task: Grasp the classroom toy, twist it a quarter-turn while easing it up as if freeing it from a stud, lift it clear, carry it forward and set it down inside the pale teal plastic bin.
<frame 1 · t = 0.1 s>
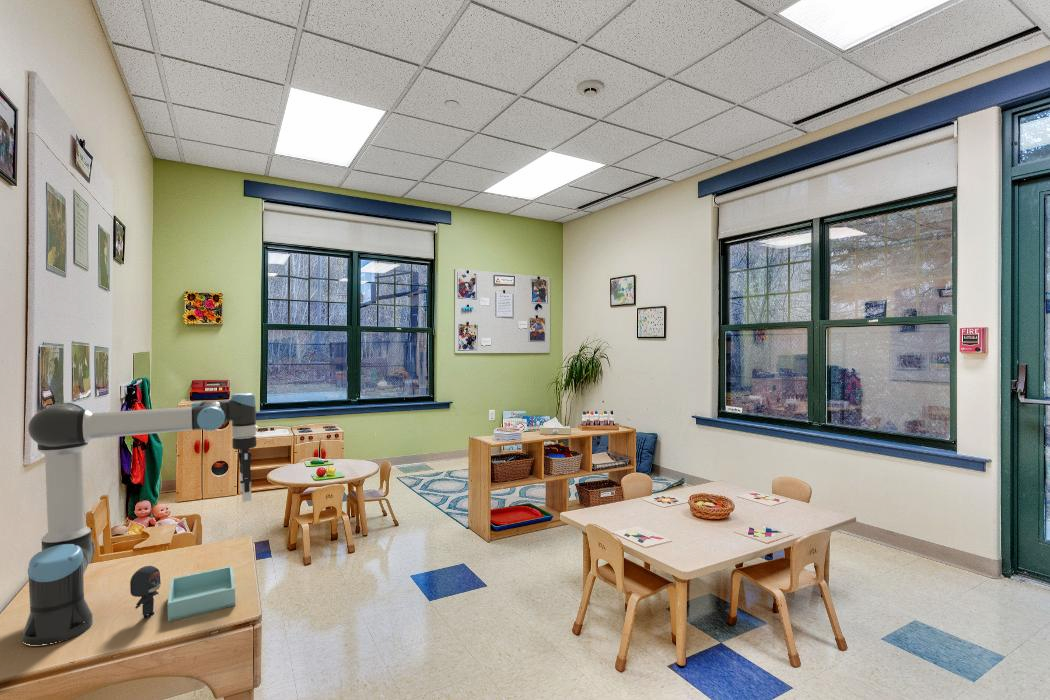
hand: (245, 495, 187), 28 cm above the table, fingers open, 13 cm apart
bin: (202, 600, 169), on the table
toy: (147, 616, 160), on the table
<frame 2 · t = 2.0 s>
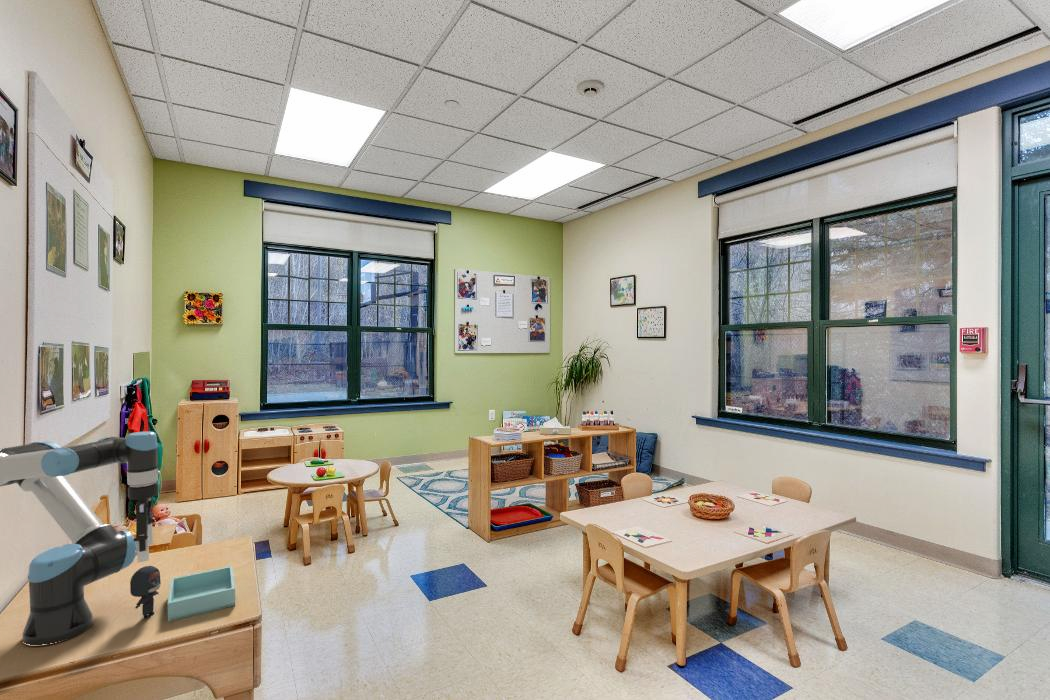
hand: (145, 552, 159), 19 cm above the table, fingers open, 13 cm apart
nothing on the table moved.
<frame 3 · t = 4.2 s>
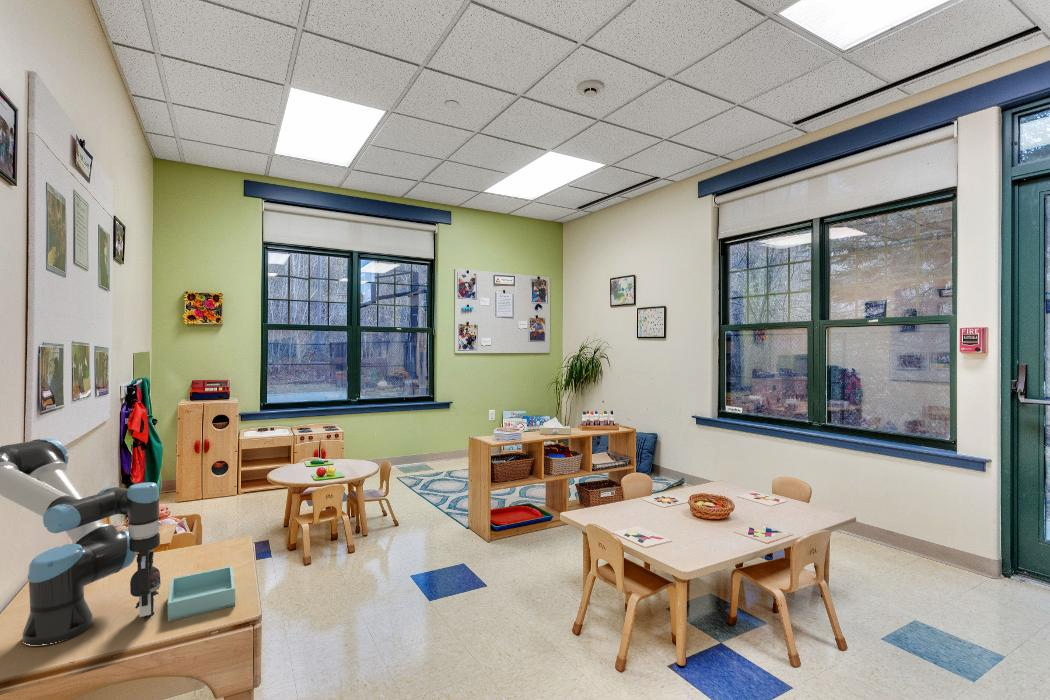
hand: (146, 608, 160), 2 cm above the table, fingers closed on toy, 7 cm apart
toy: (147, 616, 160), on the table, touching gripper
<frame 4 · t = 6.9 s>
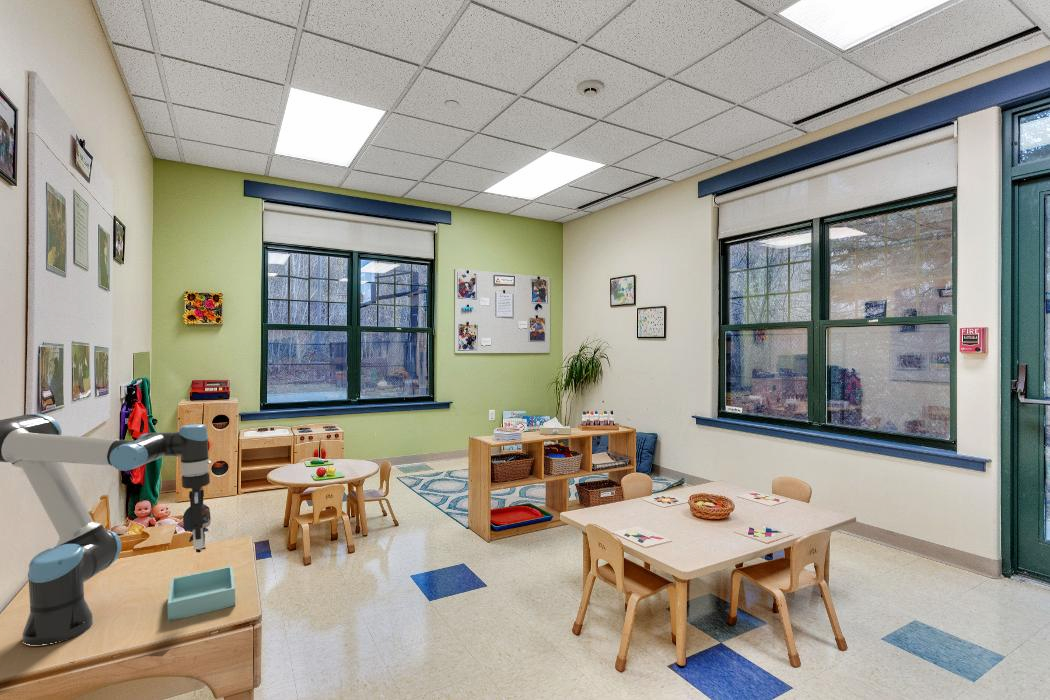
hand: (198, 544, 168), 19 cm above the table, fingers closed on toy, 7 cm apart
toy: (199, 551, 168), point 16 cm above the table, touching gripper
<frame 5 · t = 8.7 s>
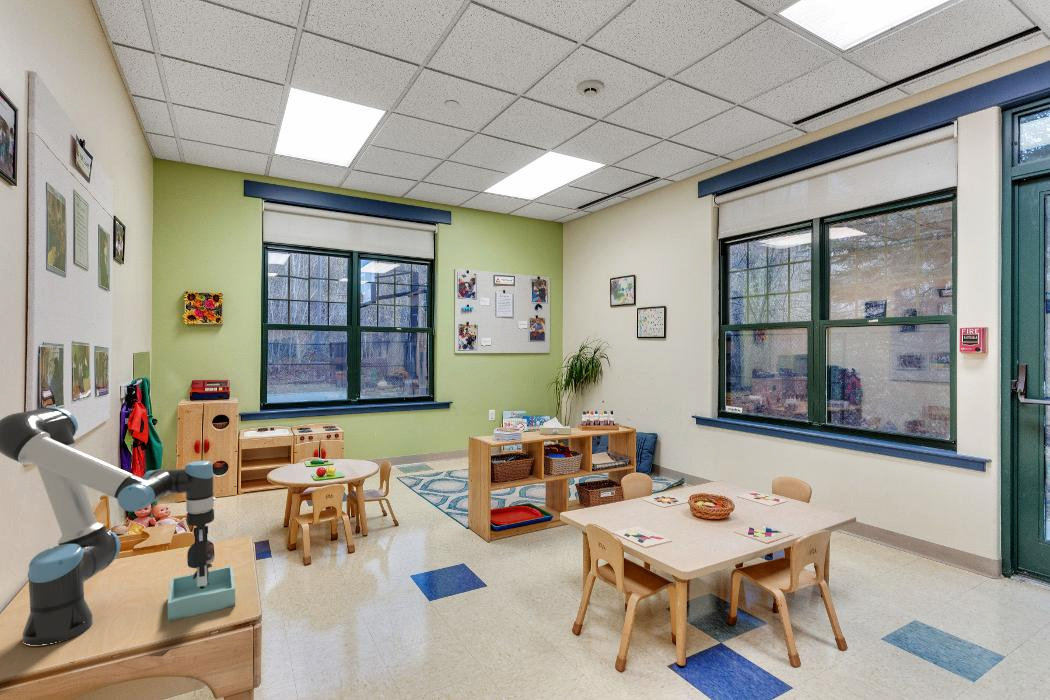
hand: (202, 580, 169), 7 cm above the table, fingers closed on toy, 7 cm apart
toy: (202, 587, 169), point 4 cm above the table, touching gripper
when the fingers open (3 cm above the table, at t = 9.9 s): toy stays where it is, resting on bin.
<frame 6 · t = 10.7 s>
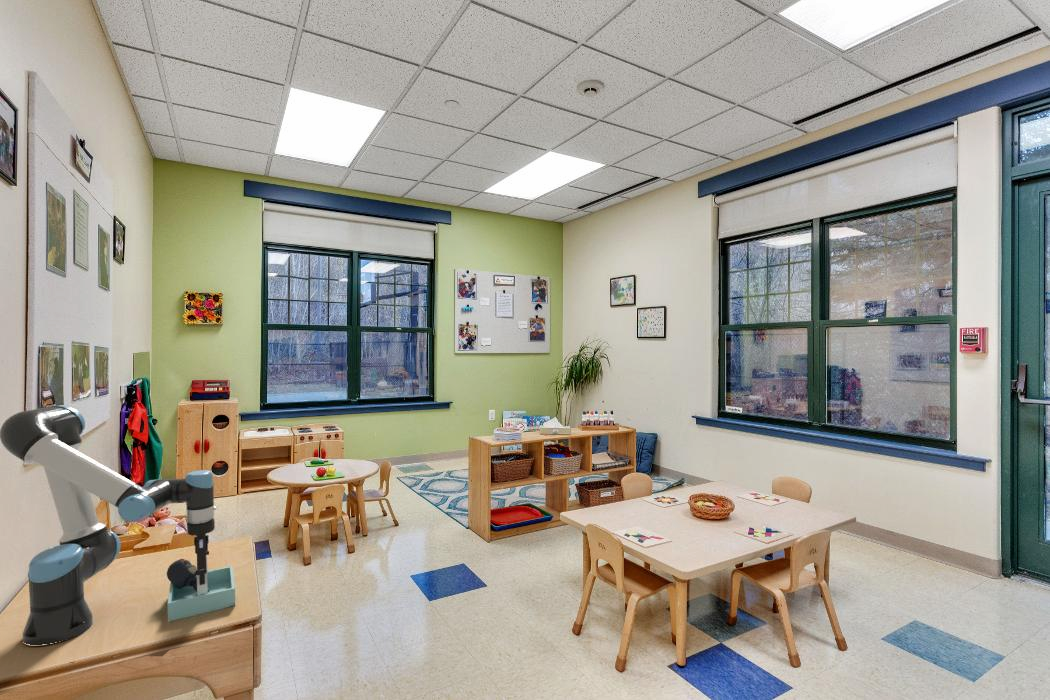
hand: (202, 584, 169), 5 cm above the table, fingers open, 13 cm apart
toy: (204, 595, 169), point 2 cm above the table, touching bin, gripper
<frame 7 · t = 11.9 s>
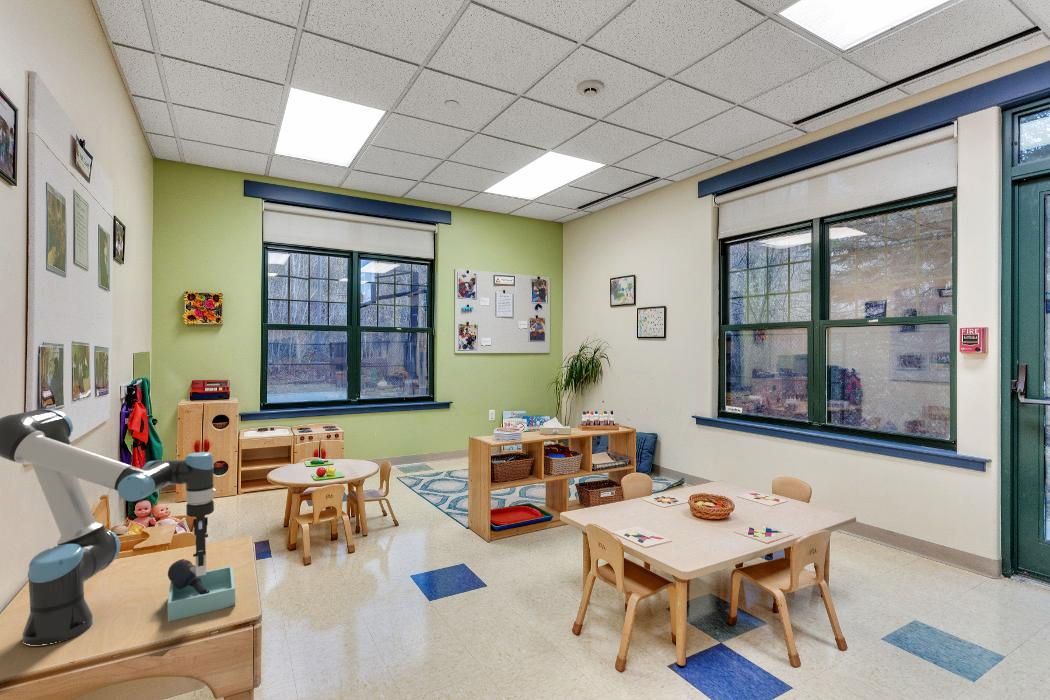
hand: (201, 566, 169), 11 cm above the table, fingers open, 13 cm apart
toy: (205, 595, 169), point 1 cm above the table, touching bin
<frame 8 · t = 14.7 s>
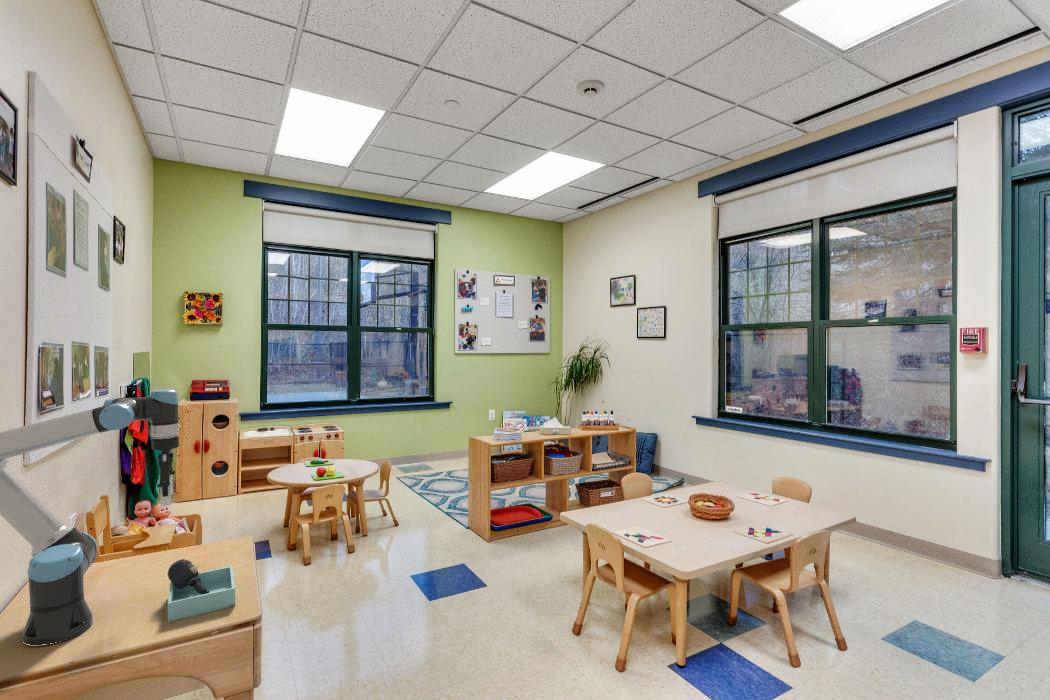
hand: (167, 500, 174), 31 cm above the table, fingers open, 13 cm apart
nothing on the table moved.
at the end: toy inside the target area on the bin (0.8 cm from its centre), point 1.4 cm above the bin's base; toy point 1.4 cm above the table; the gripper is holding nothing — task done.
